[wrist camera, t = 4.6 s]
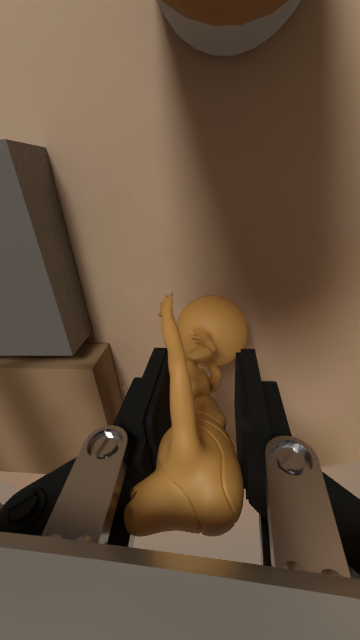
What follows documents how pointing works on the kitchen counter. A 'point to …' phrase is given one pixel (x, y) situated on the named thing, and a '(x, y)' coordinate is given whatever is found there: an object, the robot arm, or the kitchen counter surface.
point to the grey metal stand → (36, 261)
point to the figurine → (194, 428)
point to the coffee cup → (226, 22)
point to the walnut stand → (54, 406)
